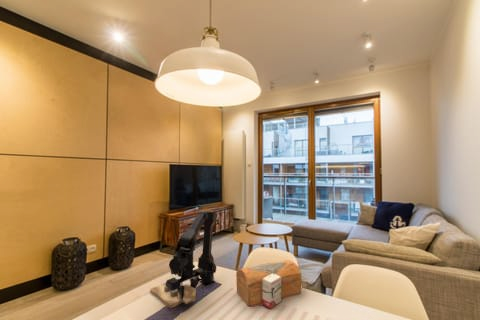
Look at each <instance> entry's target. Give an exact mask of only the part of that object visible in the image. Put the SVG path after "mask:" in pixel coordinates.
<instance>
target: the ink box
mask: <svg viewBox="0 0 480 320" xmlns="http://www.w3.org/2000/svg"><path fill="white" fill-rule="evenodd" d="M281 302H282V298H281V277H280V276H278V275H276V274H273V273H272V274H270V275H268V276H267V277H265V278H263V286H262V304H261V305H262V306H264V307H266V308H268V309H272V308H273V307H275V306H276V305H278V304H279V303H281Z"/></svg>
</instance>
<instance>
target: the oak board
mask: <svg viewBox="0 0 480 320" xmlns="http://www.w3.org/2000/svg"><path fill="white" fill-rule="evenodd" d="M164 287H166V282H165V283H162V284H159V285H156V286H154V287H152V288H150V293H151V294H152V295H153V296H155V297H156V298H157V299H158V300H159V301H160V302H161V303H163V304H164V305H166V307H168V308H169V309H172V308H174V307H176V306H179V305H180V304H184V302H182V301H181V300H180V299H178V295H177V296H174V297H172V296H170V291H169V292H165V291H164ZM171 291H173V290H171Z"/></svg>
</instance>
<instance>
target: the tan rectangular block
mask: <svg viewBox="0 0 480 320" xmlns="http://www.w3.org/2000/svg"><path fill="white" fill-rule="evenodd" d="M183 286H184V295H183V299H181V298H180V295H179V293H178V299H180V300H181V301H182V302H183V304H185V305H189V304H191V303H192V302H195V301H196V300H197V299H196V297H197V293H196V291H197V289H196V288H193V287H192V286H190V284H188V283H186V284H183Z"/></svg>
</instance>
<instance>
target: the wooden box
mask: <svg viewBox="0 0 480 320" xmlns="http://www.w3.org/2000/svg"><path fill="white" fill-rule="evenodd" d="M235 273H236V276H235V278H236V293H237V295H239V297H240V299H242V301H243V302H244V304H246V306H247V307H248V308H249V307H250V308H252V307H257V306H260V305H263V304H262V286H263V278H265V277H267V276H268V275H270V274H272V273H273V274H276V275H278V276H280V277H281V299H285V298H288V297H293V296H295V295H300V294H302V272H301V269H300V267H299V266H298V265H297V264H296V263H295V262H293V261H291V260H283V261H282V260H281V261H278V262H269V263H263V264H258V265H254V266H253V265H252V266H249V267H243V268H238V269H237V270H236V272H235Z"/></svg>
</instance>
